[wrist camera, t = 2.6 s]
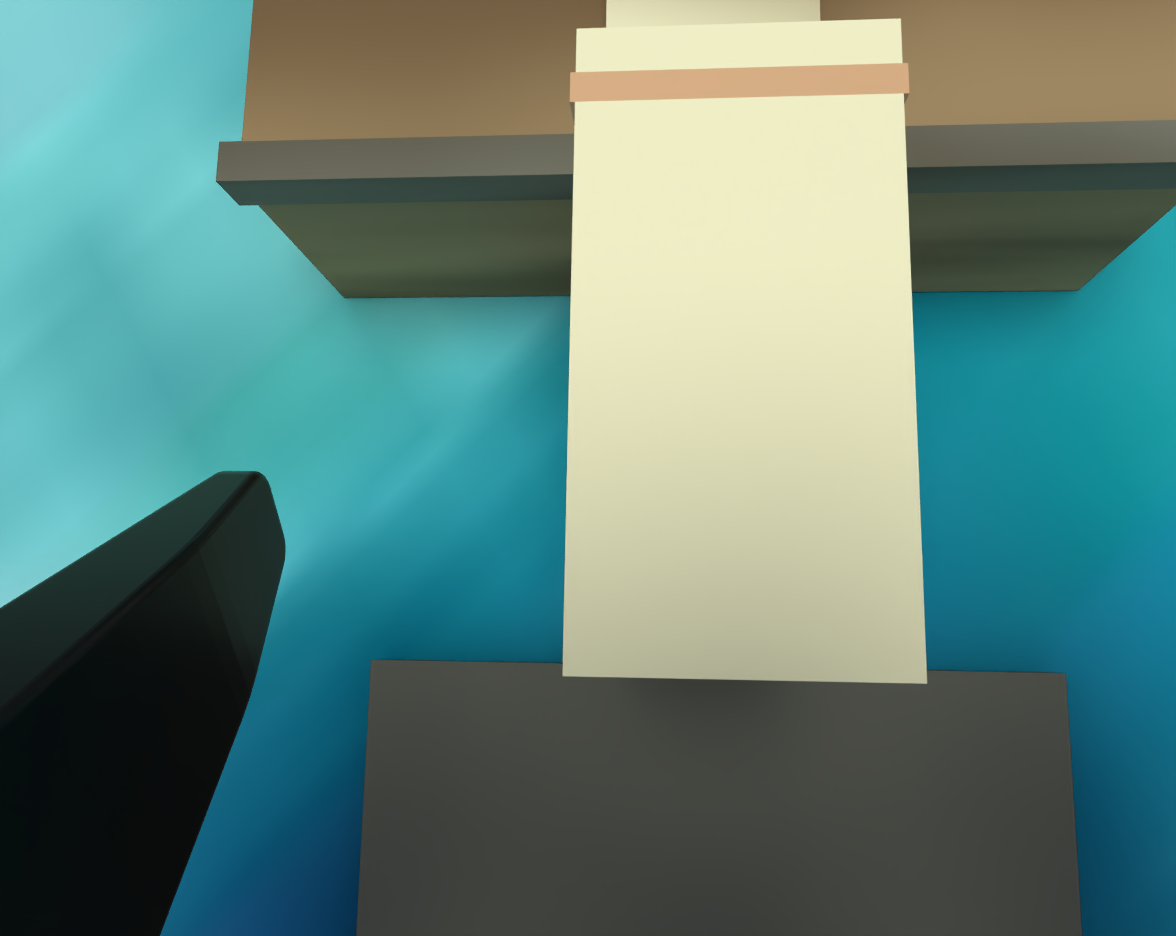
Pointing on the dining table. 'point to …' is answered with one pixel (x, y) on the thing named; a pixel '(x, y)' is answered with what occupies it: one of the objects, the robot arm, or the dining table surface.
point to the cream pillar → (742, 357)
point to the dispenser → (566, 3)
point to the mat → (715, 805)
